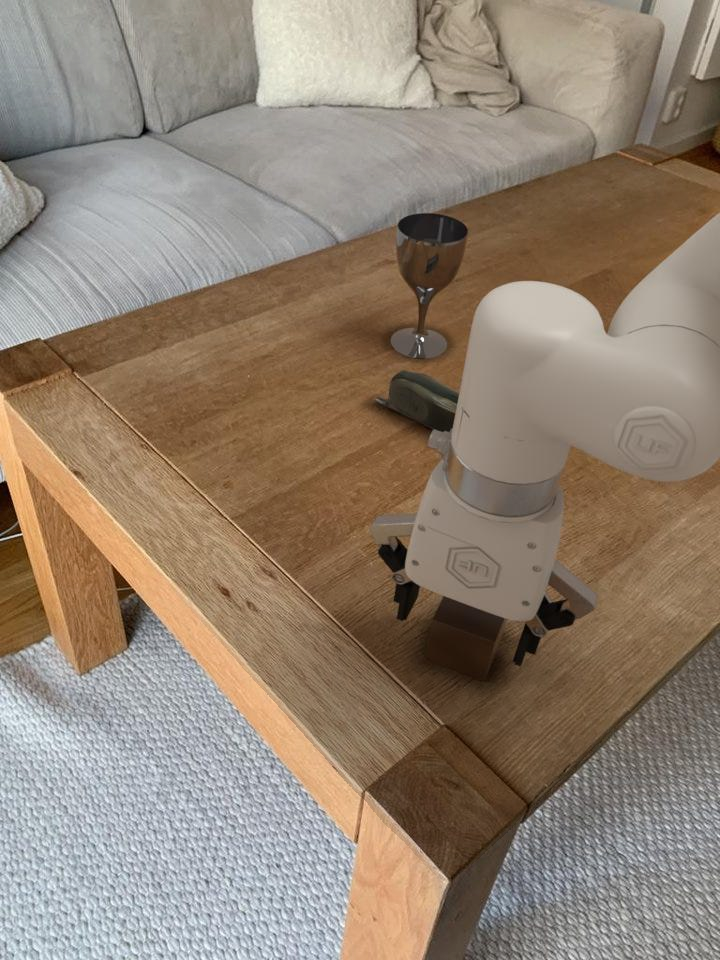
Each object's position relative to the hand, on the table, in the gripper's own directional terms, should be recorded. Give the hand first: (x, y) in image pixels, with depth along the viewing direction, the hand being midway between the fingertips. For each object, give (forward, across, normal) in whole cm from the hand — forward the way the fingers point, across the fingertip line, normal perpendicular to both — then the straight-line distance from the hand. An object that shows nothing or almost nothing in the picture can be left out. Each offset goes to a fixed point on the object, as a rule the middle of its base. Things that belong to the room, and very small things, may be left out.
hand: (463, 629), depth 65 cm
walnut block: (+2, 0, 0) cm, 2 cm away
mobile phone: (+2, -12, +27) cm, 29 cm away
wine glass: (+3, -19, +42) cm, 46 cm away
